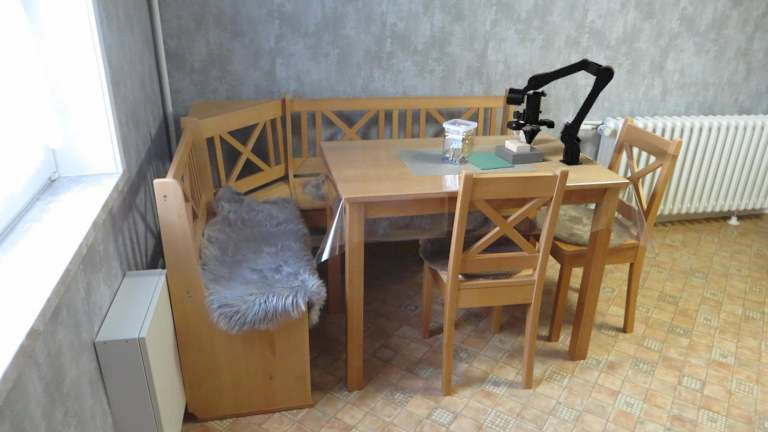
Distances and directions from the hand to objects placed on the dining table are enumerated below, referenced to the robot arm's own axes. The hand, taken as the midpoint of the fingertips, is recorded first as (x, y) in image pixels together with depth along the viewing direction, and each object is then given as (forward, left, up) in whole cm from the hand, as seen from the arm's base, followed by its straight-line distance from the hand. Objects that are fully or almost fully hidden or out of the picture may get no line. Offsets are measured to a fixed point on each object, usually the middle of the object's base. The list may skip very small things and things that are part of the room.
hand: (528, 145), depth 221 cm
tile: (0, +5, 0) cm, 5 cm away
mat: (0, +19, -5) cm, 19 cm away
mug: (+19, -9, -5) cm, 22 cm away
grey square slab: (0, +4, -5) cm, 6 cm away
